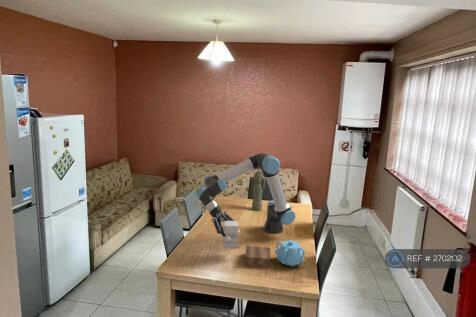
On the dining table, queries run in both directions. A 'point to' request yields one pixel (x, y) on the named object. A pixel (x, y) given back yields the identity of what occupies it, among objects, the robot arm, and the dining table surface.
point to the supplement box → (231, 234)
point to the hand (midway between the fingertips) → (234, 236)
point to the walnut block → (257, 256)
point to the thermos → (257, 191)
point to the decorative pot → (290, 253)
